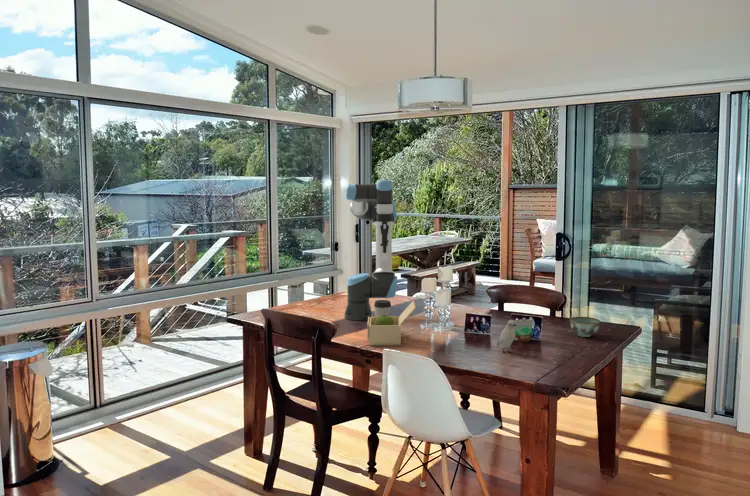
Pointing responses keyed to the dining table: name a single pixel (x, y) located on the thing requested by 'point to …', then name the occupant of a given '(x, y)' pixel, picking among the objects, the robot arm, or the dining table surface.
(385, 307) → the coffee cup
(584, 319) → the bowl
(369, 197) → the robot arm
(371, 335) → the carton
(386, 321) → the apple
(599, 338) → the dining table surface
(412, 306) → the flap
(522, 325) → the food container
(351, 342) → the dining table surface
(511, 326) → the bird
